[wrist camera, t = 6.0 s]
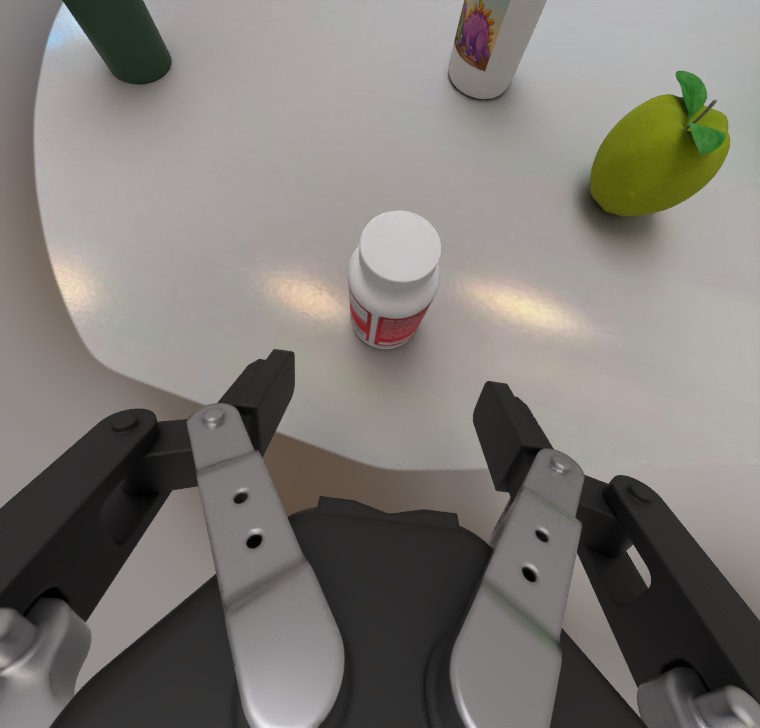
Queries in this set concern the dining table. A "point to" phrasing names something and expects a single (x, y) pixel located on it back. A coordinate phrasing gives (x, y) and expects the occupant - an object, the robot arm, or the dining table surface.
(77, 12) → the bottle
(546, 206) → the dining table surface
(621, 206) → the fruit
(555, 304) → the dining table surface
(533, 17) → the milk bottle
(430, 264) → the pill bottle
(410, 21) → the dining table surface
